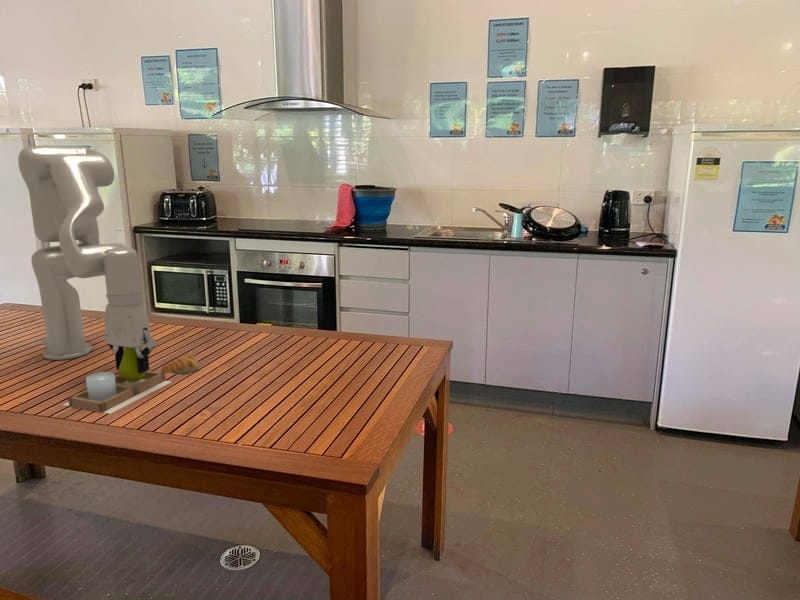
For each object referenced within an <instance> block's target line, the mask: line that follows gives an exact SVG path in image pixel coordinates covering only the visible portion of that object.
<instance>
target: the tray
mask: <svg viewBox="0 0 800 600" xmlns="http://www.w3.org/2000/svg"><path fill="white" fill-rule="evenodd" d="M115 381H116V390H117V395H115V396H113V397H110V398H108V399H106V400H104V401H96V400H91V399H88V391H87V388H86V389H84V390H83V391H80V392H77V393H75V394H73V395H71V396H69V397H67V400H68V401H67V402H66V403H63V404H62V406H67V407H72V408H79V409H84V410H88V411H93V412H98V413H99V412H100V413H106V414H113V413H114V412H116V411H118V410H120V409H122V408H124V407H126V406H128V405H130V404H132V403H133V402H136V401H138V400H139V399H142V398H144V397H146V396H147V395H150V394H152V393H153V392H155V391H157V390H158V389H159V390H160V389H161V388H163V387H164V386H167V385H169V384H171V383H172V380H171V381H170V380H166V374H165V373H164V372H158V371H152V370H148V371H146V375H145V376H144V377H143V378H142V379H141V380H139V381H136V382H127V381H125V380H123V379H122V378H121V377H120V375H119V374H118V375H116V376H115Z"/></svg>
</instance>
